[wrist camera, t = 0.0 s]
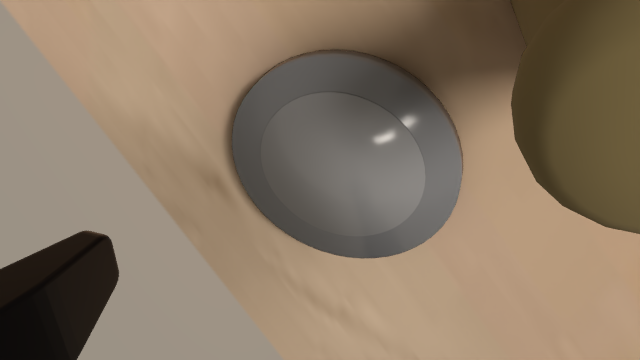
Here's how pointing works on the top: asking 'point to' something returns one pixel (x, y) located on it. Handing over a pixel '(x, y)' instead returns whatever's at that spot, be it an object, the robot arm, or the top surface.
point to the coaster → (348, 154)
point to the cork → (582, 105)
